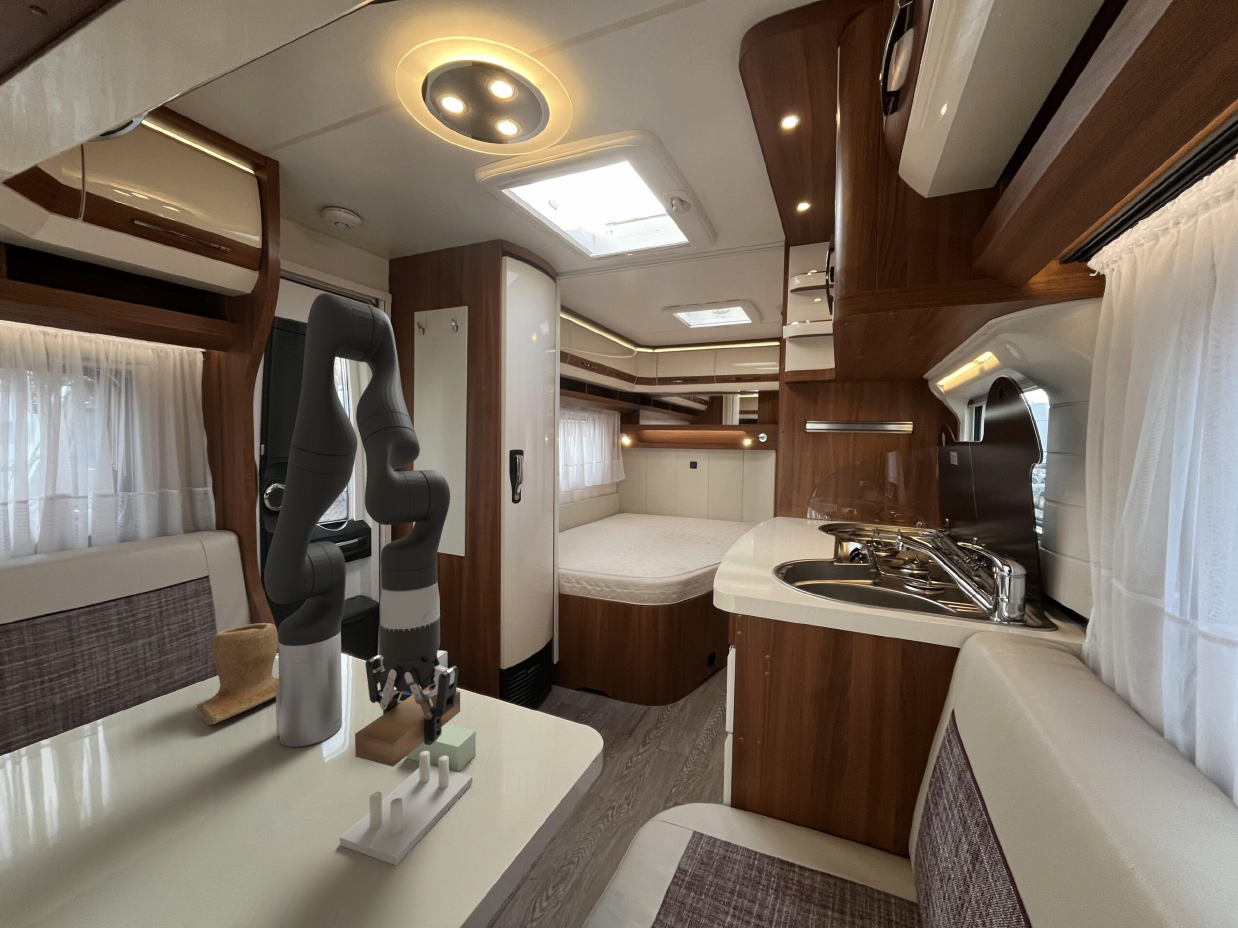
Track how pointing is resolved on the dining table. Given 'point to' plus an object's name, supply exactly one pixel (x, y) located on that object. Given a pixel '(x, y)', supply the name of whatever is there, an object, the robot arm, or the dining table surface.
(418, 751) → the block
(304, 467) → the robot arm
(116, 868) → the dining table surface
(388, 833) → the peg stand
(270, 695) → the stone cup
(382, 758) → the board
